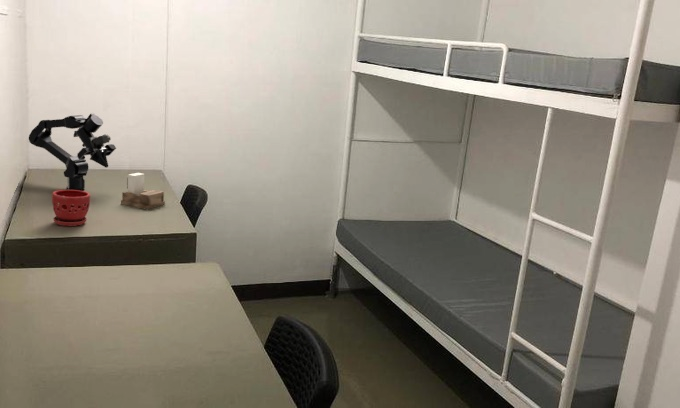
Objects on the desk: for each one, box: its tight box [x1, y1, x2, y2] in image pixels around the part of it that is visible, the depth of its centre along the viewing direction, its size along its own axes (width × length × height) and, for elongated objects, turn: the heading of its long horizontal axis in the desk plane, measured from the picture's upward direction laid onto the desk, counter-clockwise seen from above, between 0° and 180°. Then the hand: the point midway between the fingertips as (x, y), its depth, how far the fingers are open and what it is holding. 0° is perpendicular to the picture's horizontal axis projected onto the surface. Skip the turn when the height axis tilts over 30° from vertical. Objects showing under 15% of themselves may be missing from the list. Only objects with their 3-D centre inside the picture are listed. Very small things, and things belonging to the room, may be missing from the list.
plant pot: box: [51, 189, 91, 227], centre depth 237 cm, size 13×13×12 cm
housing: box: [120, 188, 166, 210], centre depth 274 cm, size 14×12×6 cm
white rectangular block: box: [126, 172, 145, 195], centre depth 274 cm, size 4×6×11 cm
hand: (107, 166), depth 278 cm, fingers closed
